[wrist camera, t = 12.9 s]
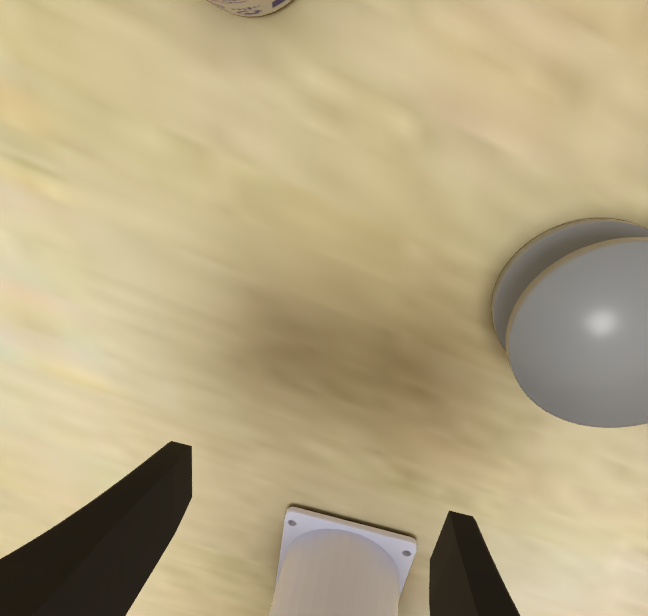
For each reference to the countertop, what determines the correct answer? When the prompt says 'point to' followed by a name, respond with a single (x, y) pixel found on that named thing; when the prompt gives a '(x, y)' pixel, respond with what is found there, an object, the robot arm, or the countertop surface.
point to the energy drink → (250, 6)
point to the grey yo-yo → (579, 321)
